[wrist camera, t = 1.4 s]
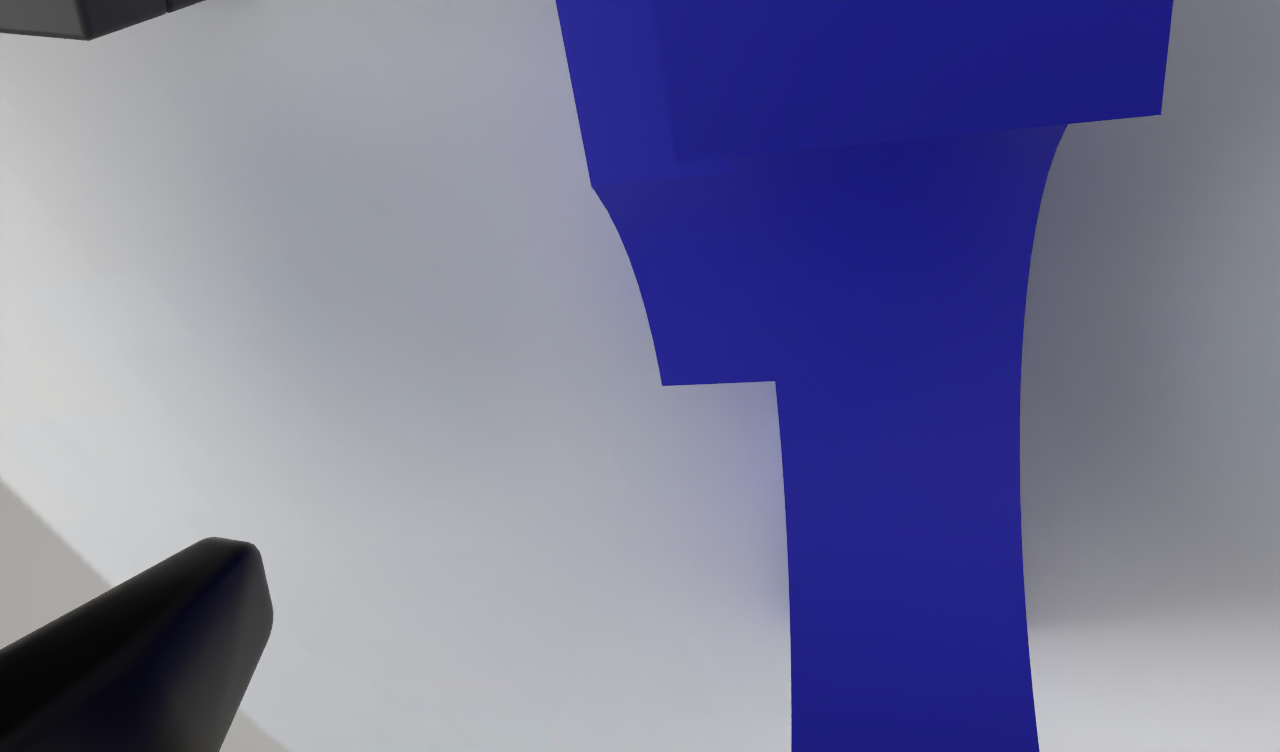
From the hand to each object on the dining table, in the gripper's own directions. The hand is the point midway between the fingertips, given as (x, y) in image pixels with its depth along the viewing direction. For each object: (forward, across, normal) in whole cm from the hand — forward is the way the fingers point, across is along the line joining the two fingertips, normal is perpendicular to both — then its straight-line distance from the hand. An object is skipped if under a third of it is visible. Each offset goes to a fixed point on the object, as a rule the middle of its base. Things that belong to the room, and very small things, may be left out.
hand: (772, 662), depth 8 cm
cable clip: (+7, 0, 0) cm, 7 cm away
